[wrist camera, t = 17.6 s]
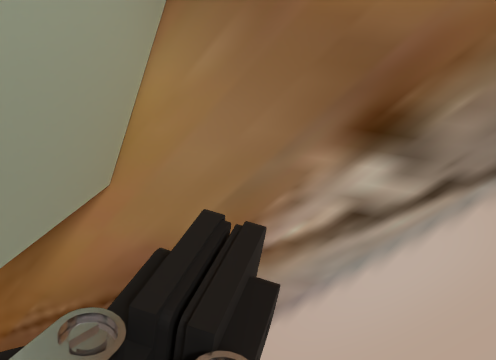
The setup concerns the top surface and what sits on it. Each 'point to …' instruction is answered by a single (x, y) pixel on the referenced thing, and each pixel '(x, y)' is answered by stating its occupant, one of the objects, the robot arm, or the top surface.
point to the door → (64, 105)
